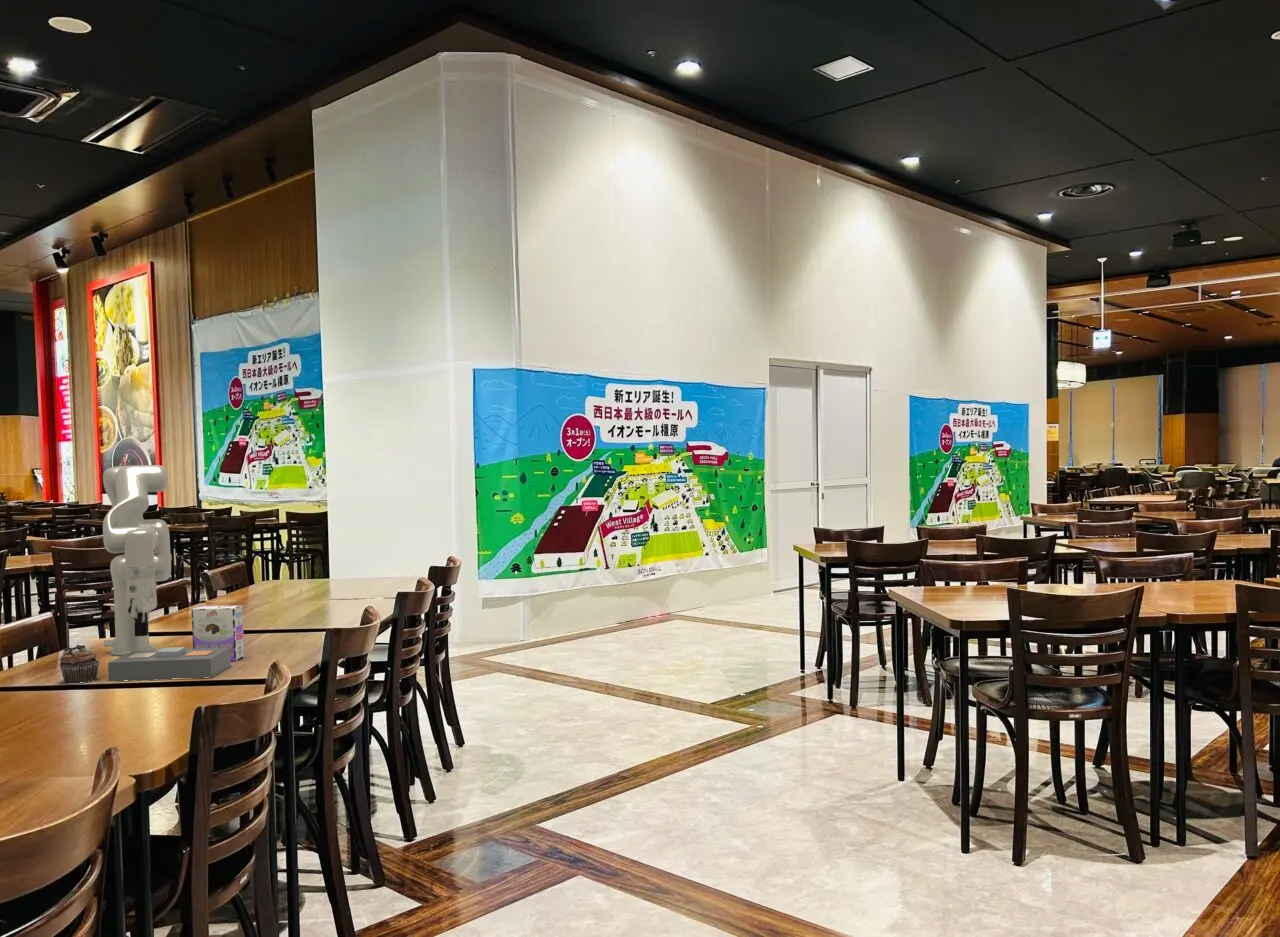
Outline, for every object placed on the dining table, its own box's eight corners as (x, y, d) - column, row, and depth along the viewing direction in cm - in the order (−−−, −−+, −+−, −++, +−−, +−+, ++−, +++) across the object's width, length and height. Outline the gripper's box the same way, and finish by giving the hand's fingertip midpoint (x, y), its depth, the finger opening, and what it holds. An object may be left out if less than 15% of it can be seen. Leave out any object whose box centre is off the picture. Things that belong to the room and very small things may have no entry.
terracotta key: (185, 667, 279) (184, 655, 279) (193, 663, 285) (192, 651, 285) (206, 666, 279) (206, 654, 279) (214, 662, 285) (214, 650, 285)
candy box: (245, 657, 302) (243, 604, 302) (235, 661, 296) (233, 607, 296) (202, 657, 304) (201, 605, 303) (192, 661, 298) (190, 608, 297)
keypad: (108, 681, 272) (107, 662, 272) (133, 669, 288) (133, 650, 288) (211, 678, 274) (210, 658, 274) (231, 665, 290) (230, 647, 290)
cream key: (127, 669, 278) (126, 657, 278) (136, 665, 284) (136, 653, 284) (149, 668, 278) (148, 656, 278) (157, 664, 284) (157, 652, 284)
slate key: (156, 664, 278) (155, 651, 278) (164, 659, 284) (164, 647, 284) (177, 663, 279) (177, 651, 279) (186, 659, 285) (185, 647, 285)
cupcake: (82, 685, 269) (81, 649, 269) (52, 684, 271) (51, 648, 271) (107, 677, 279) (106, 642, 278) (78, 676, 280) (77, 641, 280)
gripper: (142, 576, 273) (143, 641, 274) (164, 568, 288) (165, 629, 289) (114, 576, 273) (116, 641, 274) (137, 568, 288) (139, 630, 289)
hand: (141, 635), depth 281 cm, fingers closed
